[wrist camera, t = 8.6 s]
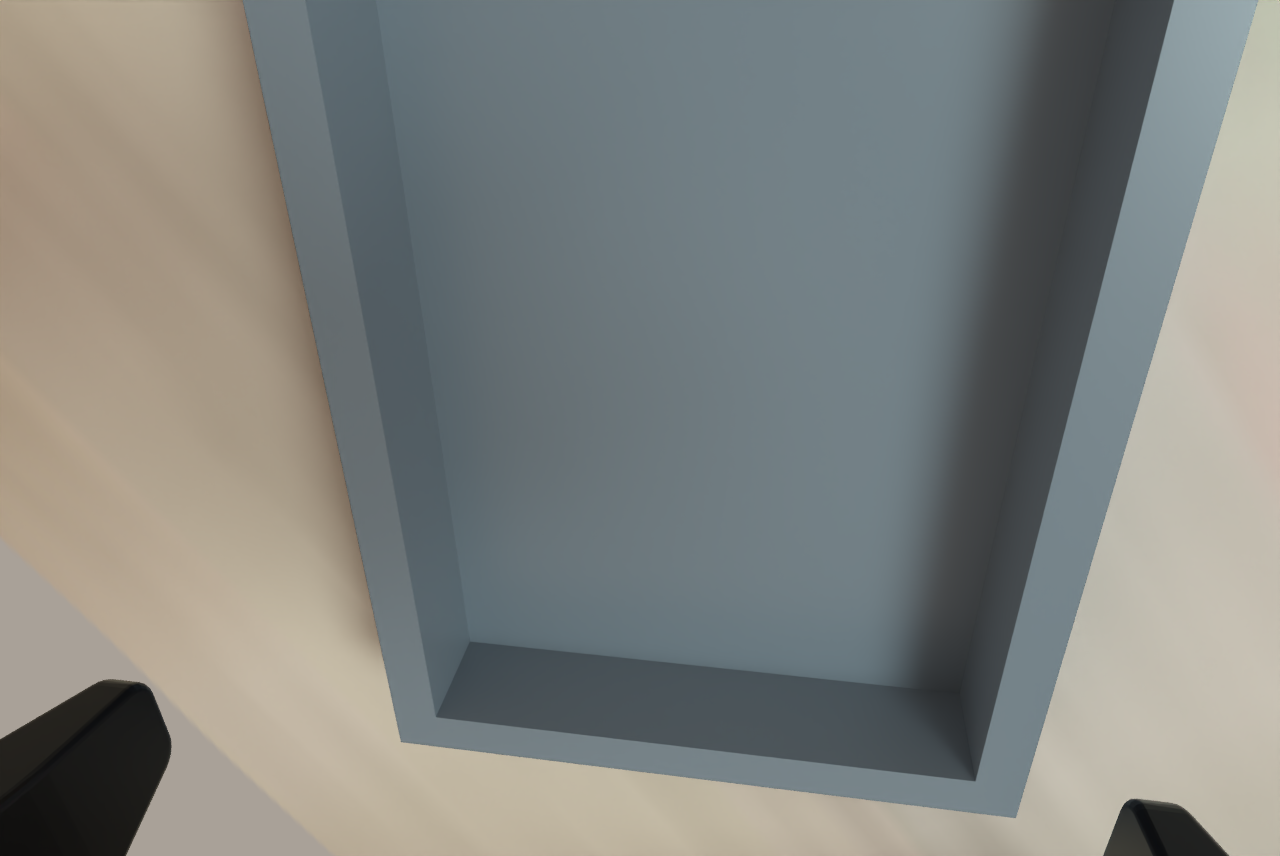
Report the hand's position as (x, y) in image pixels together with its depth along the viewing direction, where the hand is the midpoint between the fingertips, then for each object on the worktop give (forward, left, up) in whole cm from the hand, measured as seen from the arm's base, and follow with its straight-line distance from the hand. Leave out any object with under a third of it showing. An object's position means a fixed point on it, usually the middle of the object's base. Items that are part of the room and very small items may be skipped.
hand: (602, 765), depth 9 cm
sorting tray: (0, 0, -11) cm, 11 cm away
